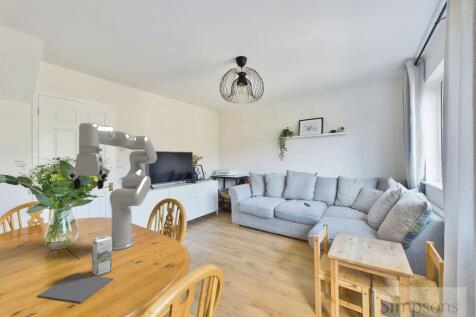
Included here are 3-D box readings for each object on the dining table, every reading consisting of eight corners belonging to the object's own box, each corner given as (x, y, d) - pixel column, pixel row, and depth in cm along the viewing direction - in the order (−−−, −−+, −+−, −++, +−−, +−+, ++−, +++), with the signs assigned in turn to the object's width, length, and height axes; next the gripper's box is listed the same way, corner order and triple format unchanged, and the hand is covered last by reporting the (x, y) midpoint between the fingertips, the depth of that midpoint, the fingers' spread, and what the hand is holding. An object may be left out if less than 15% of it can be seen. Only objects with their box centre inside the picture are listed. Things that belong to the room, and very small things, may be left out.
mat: (75, 274, 87) (75, 273, 87) (113, 279, 84) (113, 278, 84) (37, 296, 73) (37, 295, 73) (81, 303, 70) (81, 301, 70)
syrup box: (106, 267, 93) (107, 234, 93) (112, 271, 89) (112, 237, 90) (91, 272, 89) (92, 238, 89) (96, 277, 85) (96, 241, 85)
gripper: (113, 151, 99) (113, 187, 99) (74, 151, 97) (74, 188, 97) (104, 150, 91) (104, 189, 91) (62, 150, 90) (62, 190, 90)
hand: (88, 188), depth 94 cm, fingers open, 9 cm apart
